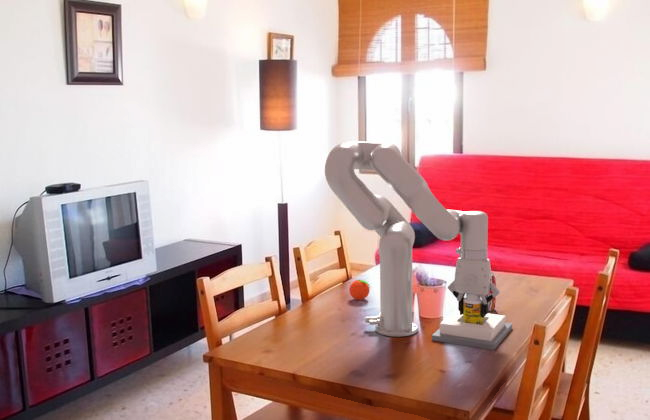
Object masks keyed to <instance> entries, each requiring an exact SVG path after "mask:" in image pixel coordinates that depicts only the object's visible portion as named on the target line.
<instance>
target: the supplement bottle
mask: <svg viewBox="0 0 650 420" xmlns="http://www.w3.org/2000/svg"><path fill="white" fill-rule="evenodd" d="M482 302H483V301H482V299H481V298H480V295H473V294H465V297H464V301H463V322H464V323H471V324H478V325H482V323H483V318H482V317H481V304H482Z"/></svg>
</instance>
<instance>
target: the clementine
mask: <svg viewBox="0 0 650 420" xmlns="http://www.w3.org/2000/svg"><path fill="white" fill-rule="evenodd" d="M370 287H371V285H370V283H369V282H367V281H366V280H363V279H356V280H354V281H352V282H351V284H350V286H349V294H350V296H351V297H352V299H355V300H357V301H362V300H365V299H366V298H368V295H369V294H370Z"/></svg>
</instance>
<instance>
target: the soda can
mask: <svg viewBox="0 0 650 420" xmlns="http://www.w3.org/2000/svg"><path fill="white" fill-rule="evenodd" d="M491 274H492V283H493V284H494V285H495V287H496V288H497V279H496V277H495V273H494V272H493V271H491ZM492 293H493V292H492V290H491V291H490V292H489V293H488V297H489V296H490V295H491V294H492ZM480 298H481V295H480ZM496 298H497V296H496V297H494V298H493V299H492V300H491V301H489V302H488V312H491V311H493V310H494V309H495V308H496V303H497V302H496V300H497V299H496ZM481 299H482V298H481Z"/></svg>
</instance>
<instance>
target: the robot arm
mask: <svg viewBox="0 0 650 420" xmlns="http://www.w3.org/2000/svg"><path fill="white" fill-rule="evenodd" d="M355 170H364V171H367V170H368V171H374V172H375V173H376V174H377V175H378V176H380V178H381V179H382V180H383V181H384V182H385V183H386V184H387V185H388V186H389V187H390V188H391V189H392V190H393V191H394V192H395V193H396V194H397V195H398V196H399V197H400V198H401V199H402V200H403V202H404V204H406V206H407V207H408V208H409V209H410V210H411V212H412V213H413V214H414V215H415V216H416V218H417V219H418V220H419V221H420V222H421V223H422V224H423V225H424V226H425V227H426V228H427V229H428V231H430V233H432V235H434V236H435V237H436V238H437V239H439V240H442V241H451V240H453V239H455V238H456V237H457V236H458V235H459V234H460V247H459V248H456V250H455V253H456V254H458V255H459V257H457V260H456V265H455V271H454V280H453V281H452V282H451V283H450V284H449V285H448V286H447V289H448V290H449V292H450V293H452V295H453V296H454V297H455V298H456V300H457V302H458V304H457V305H458V306H457V307H458V308H457V309H458V310H459V311H460V315H462V314H463V301H464V298H465V297H466V294H473V295H481V298H482V301H483V302H482V304H481V317H482V318H484V317H485V316H486V314H488V313H489V311H488V302H489V301H491V300H492V299H493V298H494V297H496V298H497V297H498V296H499V294H500V292H501V291H500V290H499V289H498V288H497V286H496V287H495V285H494V284H493V283H492V274H491V272H492V268H491V261H490V259H489V258H488V237H489V236H488V234H489V233H488V232H489V231H488V229H489V227H488V226H489V217H488V214H487V213H486V212H484V211H481V210H469V211H468V210H467V211H462V210H456V209H447V208H445V206H443V204H442V203H441V202H439V199H438V198H436V197H435V195H434V194H433V192H432V191H431V188H429V186H428V182H427V181H426V180H425V178H424V177H423V176H422V175H421V174H420V173H419V172H418V171H417V170H416V169H415V168H414V167H413V166H412V165H411V164H410V163H409V162H408V160H406V158H404V157H403V155H402V153H401V150H400V149H399V147H398V146H397V145H395V144H393V143H390V142H371V141H370V142H369V141H353V140H351V141H350V140H349V141H346V142H342V143H340V144H337V145H336V146H334V147H333V148H332V149H331V150H330V151H329V153H328V155H327V157H326V160H325V163H324V176H325V180H326V182H327V185H328V186H329V188H330V190H332V192H333V194H334V195H335V196H336V197H337V199H339V201H340V202H341V203H342V204H343V205H344V206H345V208H346V209H347V210H348V211H349V212H350V214H351V215H352V216H353V217H354V218H355V220H356V221H357V222H358V224H360V225H361V227H362V228H364V229H366V230H368V231H375V232H376V234H378V236H379V242H378V256H379V257H378V258H379V276H380V277H379V281H380V282H379V283H380V284H379V285H380V287H379V289H380V294H379V295H380V298H379V299H380V303H379V304H380V305H379V306H380V310H379V311H380V312H379V313H378V315H375V316H365V324H369V325H371V326H374V325H375V327H374V328H375V329H374V330H375V332H377V333H378V334H380V335H382V336H388V337H394V338H395V337H396V338H397V337H401V338H402V337H408V336H411V335H414V334H416V333H418V331H419V328H418V327H419V326H418V325H417V324H416V323H414V322H413V246H414V244H415V239H416V234H415V231H414V228H413V226H412V225H411V224H410V222H409V221H407V219H406V218H405V217H404V216H403V214H401V212H400V211H399V210H398V209H397V208H396V207H395V206H394V204H393V203H392V202H391V201H390V200H388V198H386V197H384V196H383V195H381V194H374V193H373V192H372V191H371V190H370V189H369V188H368V187H367V185H366V184H365V183H364V182H363V181H362V180H361V179H360V178H359V177H358V176H357V174H356V173H355ZM491 290H492V292H493V293H492V294H491V295H490V296H489V297H488V293H489V292H490V291H491Z"/></svg>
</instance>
